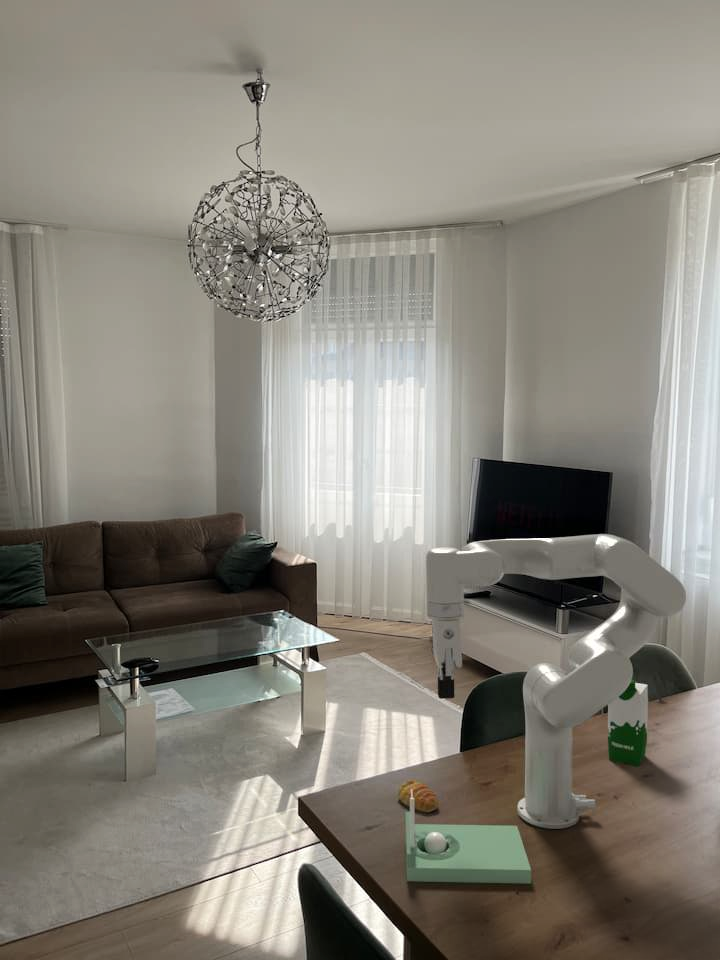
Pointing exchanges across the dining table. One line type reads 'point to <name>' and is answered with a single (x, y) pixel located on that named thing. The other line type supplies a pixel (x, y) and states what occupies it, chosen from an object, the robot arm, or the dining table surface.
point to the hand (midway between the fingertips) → (446, 696)
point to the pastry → (418, 796)
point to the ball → (435, 843)
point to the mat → (468, 854)
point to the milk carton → (628, 725)
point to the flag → (412, 820)
